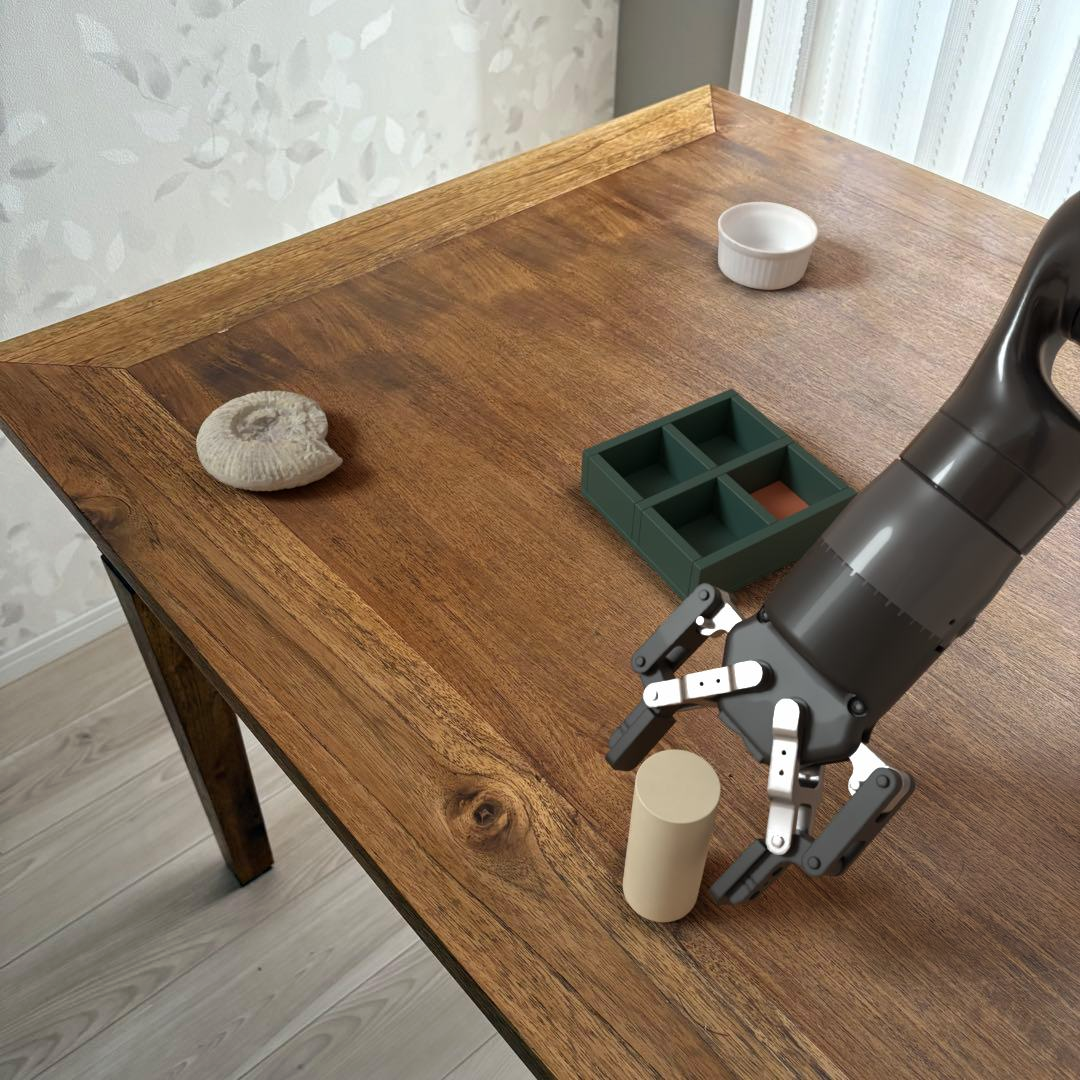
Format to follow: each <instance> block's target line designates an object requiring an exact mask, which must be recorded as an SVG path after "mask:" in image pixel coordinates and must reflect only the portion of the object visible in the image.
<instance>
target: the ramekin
mask: <svg viewBox="0 0 1080 1080" xmlns="http://www.w3.org/2000/svg"><path fill="white" fill-rule="evenodd" d="M717 232H718V234H719V235H718V247H717V248H718V251H717V262H718V267H719V269H720V271H721V272H722V274H724V276H726V278H728V279H729V280H731V281H732V282H733V283H736V284H737V285H740V286H743V287H746V288H750V289H756V290H764V291H765V290H766V291H770V290H771V291H773V290H780V289H785V288H788V287H791V286H792V285H795V284H796V283H798V282H799V281H800V280H801V279H803V277H804V275H805V273H806V270H807V269H808V268H807V267H808V265H809V261H810V258H811V255H812V252H813V248H814V246H815V244H816V243H817V241H818V238H819V234H820V233H819V227H818V225H817V222H816V221H815V220H814V219H813V218H812V217H811V216H810V215H808V214H807V213H805V212H804V211H801V210H800V209H797V208H795V207H793V206H789V205H786V204H782V203H778V202H771V201H751V202H743V203H739V204H735V205H733V206H731V207H729V208H727V209H726V210H724V211H723V212H722V213H721V214H720V215H719V217H718V220H717Z"/></svg>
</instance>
